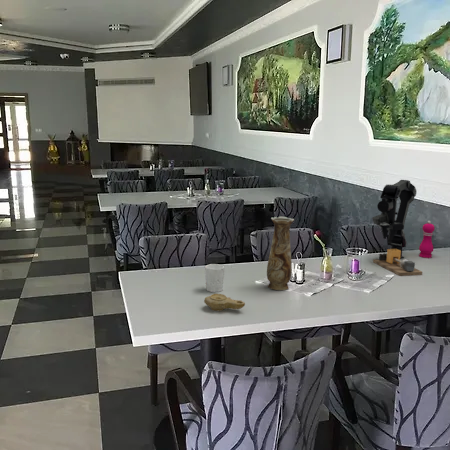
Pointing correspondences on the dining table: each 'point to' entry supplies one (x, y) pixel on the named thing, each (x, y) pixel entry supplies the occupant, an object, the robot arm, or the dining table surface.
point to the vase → (280, 255)
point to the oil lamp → (222, 302)
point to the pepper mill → (427, 241)
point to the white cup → (214, 277)
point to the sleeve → (393, 255)
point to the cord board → (398, 266)
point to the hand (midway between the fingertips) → (387, 239)
